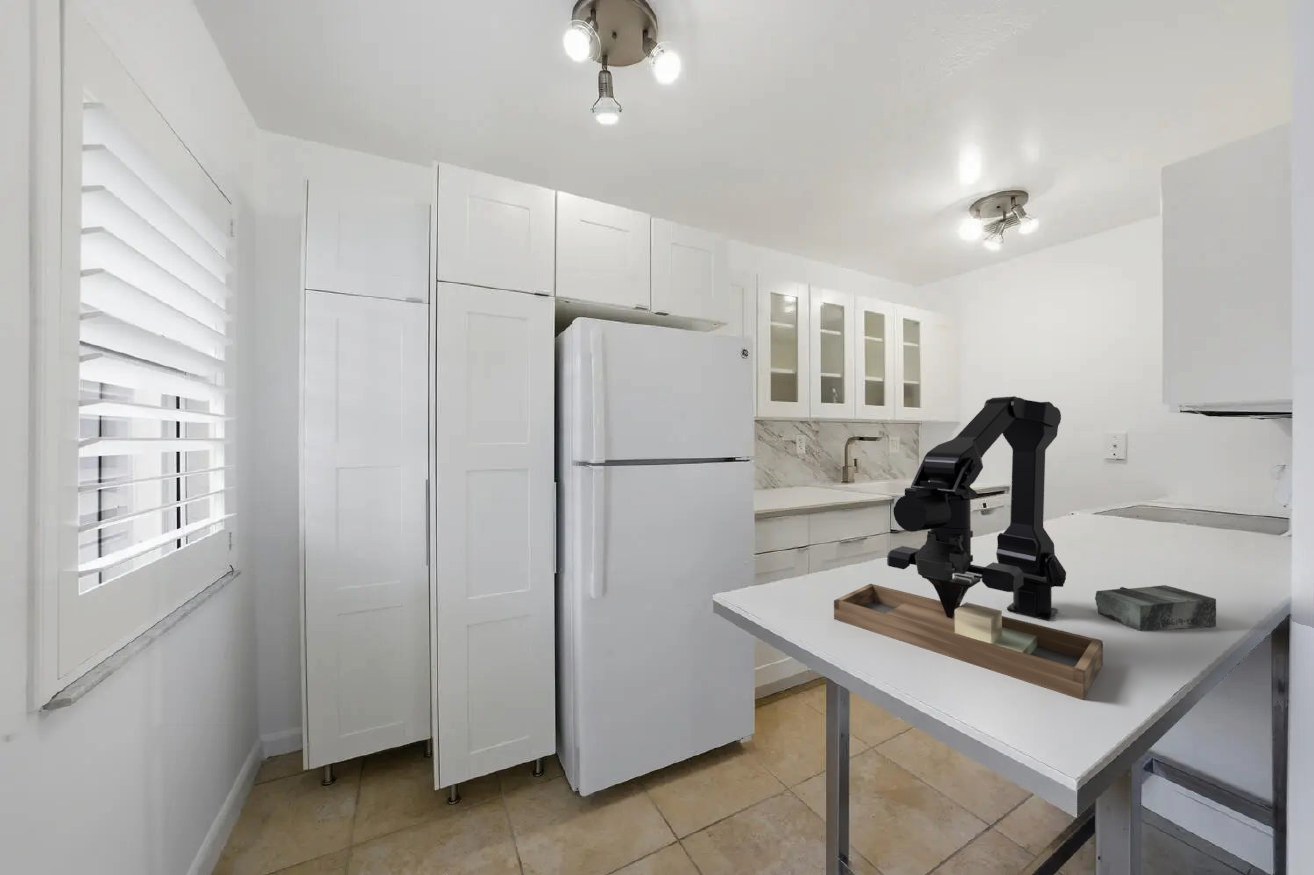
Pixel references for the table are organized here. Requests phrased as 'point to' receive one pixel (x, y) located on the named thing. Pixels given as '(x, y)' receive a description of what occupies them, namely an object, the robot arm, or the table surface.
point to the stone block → (1157, 608)
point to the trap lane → (1016, 653)
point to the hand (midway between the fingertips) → (950, 617)
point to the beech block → (978, 622)
